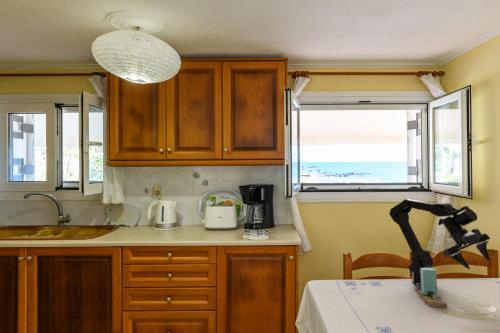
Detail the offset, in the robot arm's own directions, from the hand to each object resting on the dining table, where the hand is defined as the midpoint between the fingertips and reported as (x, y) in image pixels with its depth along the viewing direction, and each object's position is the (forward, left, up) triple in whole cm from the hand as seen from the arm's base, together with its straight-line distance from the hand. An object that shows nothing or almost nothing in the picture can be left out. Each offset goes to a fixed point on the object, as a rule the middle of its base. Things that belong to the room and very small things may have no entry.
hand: (478, 264), depth 136 cm
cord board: (-19, -1, -14) cm, 24 cm away
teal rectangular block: (-19, 0, -12) cm, 23 cm away
